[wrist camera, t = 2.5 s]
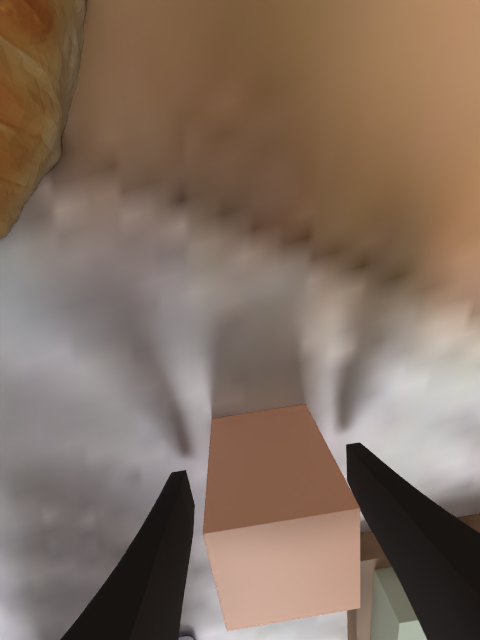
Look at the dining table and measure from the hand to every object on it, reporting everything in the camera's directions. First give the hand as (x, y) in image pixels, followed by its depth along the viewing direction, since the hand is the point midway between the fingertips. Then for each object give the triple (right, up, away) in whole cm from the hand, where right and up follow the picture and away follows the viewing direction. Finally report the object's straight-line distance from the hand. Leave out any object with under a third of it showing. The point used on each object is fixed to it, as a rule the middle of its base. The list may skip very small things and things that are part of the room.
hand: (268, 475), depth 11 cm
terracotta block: (0, 0, +1) cm, 2 cm away
